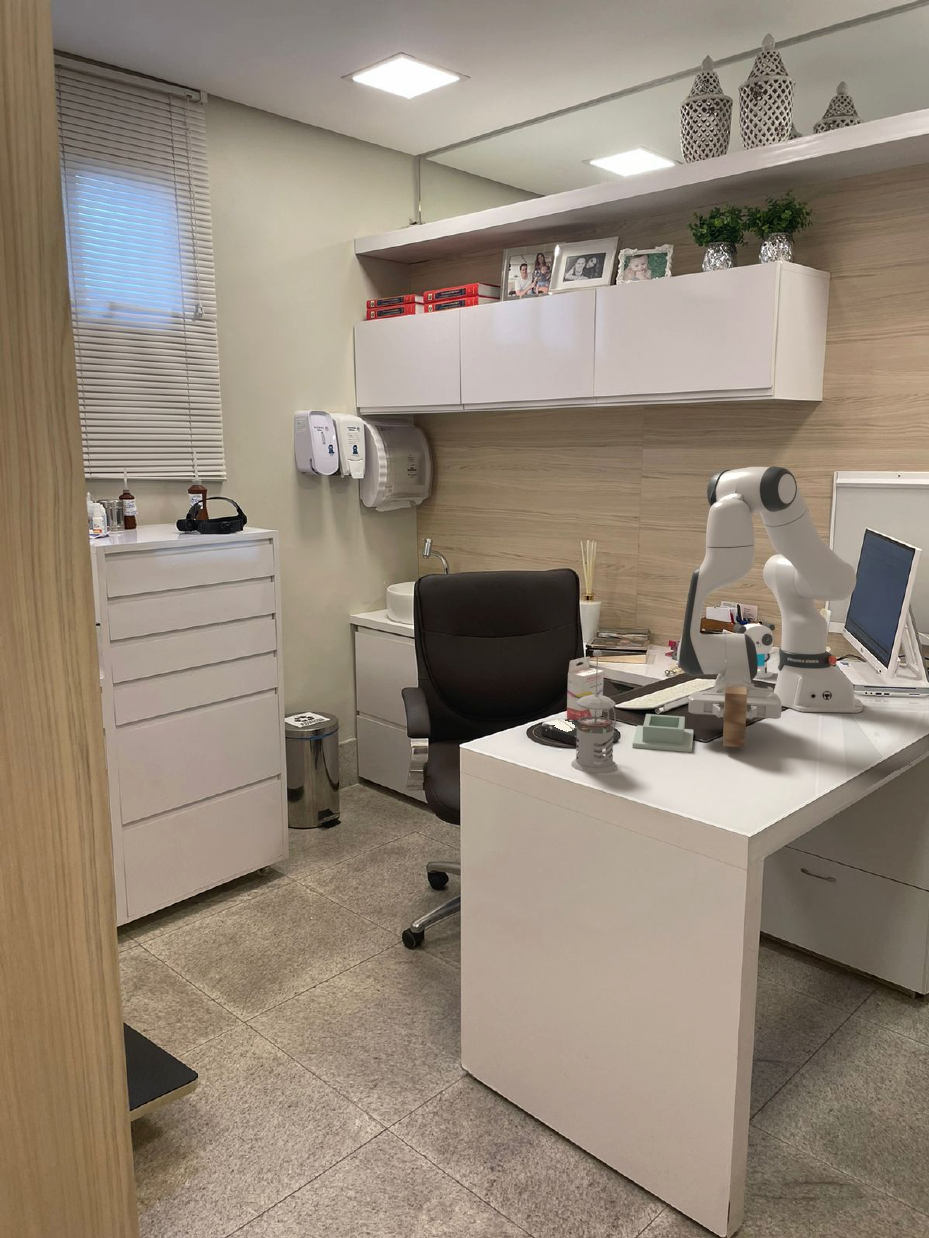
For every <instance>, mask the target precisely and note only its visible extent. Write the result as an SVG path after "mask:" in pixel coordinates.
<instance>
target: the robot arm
mask: <svg viewBox="0 0 929 1238" xmlns="http://www.w3.org/2000/svg"><path fill="white" fill-rule="evenodd" d="M706 498H707V501H708V504H709V506H710V508H709V511H708V517H707V521H706V531H705V532H706V533H705V534H706V535H705V554H704V555H705V556H704V558H703V561H702V563H701V565H700V566H699V567H697V568H694V571H693V572H692V574H691V577H690V578H691V579H690V584H689V589H688V594H687V601H686V605H685V606H686V607H685V613H684V620H683V625H682V626H683V628H682V633H681V637H680V640H679V643H678V645H677V652H676V659H677V664H678V667H679V669H681V670H682V671H683V672H684V673H685V674H686V675H689V676H690V677H694V676H696V677H697V676H704V675H717V677H716V679H715V682H714V686H713V687H714V689H713V690H714V691H694V692H692V693H691V694H690V695H688V697H687V701H688V713H690V714H692V715H711V716H716V717H717V718H721V719H722V718H723V719H724V702H725V686H733V687H746V690H747V706H746V720H753V718H758V719H774V720H779V719H781V717H782V707H786V708H789V709H793V710H795V711H797V712H803V713H804V712H806V713H808V712H809V713H812V712H813V713H854V714H855V713H860V712H862V711H863V710H864V705H863V703H862V701H861V700H860V699H858V698H857V697H855V689H854V685H853V684H852V682H851V681H850V679H849V678H848V677H847V676H845V675H844V674H843V673H841V671H839V670H838V669H837V668H836V667H834V666H833V665H836V664H837V663H838V659H837V657H836V656H835V655H834V654H832V653H831V652H830V651H827V639H828V638H827V637H828V636H827V635H828V622H827V620H826V618H825V616H823V615H822V614H821V613H820V612H819V611H818V608H817V607H816V604H815V601H814V600H817V601H821V602H836V601H837V602H839V601H845V600H846V599H848V598H849V597H850V596H851V595H852V594H853V592H854V591H855V588H856V584H857V573H856V571H855V569H854V567H853V566H852V565H851V564H850V563H848V562H846V561H845V560H843V559H842V558H841V557H839V555H837V554H836V553H835V552H834V551H833V549H831V548H830V546H829V545H828V544H827V543H826V542H825V540H824V539H823V538H822V536H821V535H820V533H819V532H818V530H817V529H816V526H815V524H814V521H813V518H812V516H811V514H810V511H809V508H808V506H807V503H806V500H805V498H804V496H803V494H802V492H801V490H800V488H799V486H798V485H797V480H796V478H795V476H794V474H793V473H792V472H791V471H790V470H789V469H788V468H785V467H782V466H781V467H780V466H777V465H776V466H748V467H743V468H742V467H741V468H737V469H725V470H721V471H720V472H717V473H714V474H713V476H711V479H710V480H709V482H708V485H707V487H706ZM754 514H759V515H760V518H761V520H762V523H763V527H764V529H765V531H766V533H767V536H768V539H769V541H770V545H771V546H772V548H773V549H774V550H775V551H776V552H777V553H778V554H774V555H772V556H771V557H768V559H767V561H766V562H765V564H764V567H763V570H762V577H763V580H764V581H763V582H764V583H765V585H766V586H767V588H769V590H770V591H771V592H772V595H774V597H775V600H776V601H777V602H776V603H777V605H778V608H779V611H780V617H781V640H780V641H781V642H780V648H779V649H778V654H777V669H778V672H777V678H776V682H775V685H774V688H773V687H771V686H767V685H763V684H758V683H757V684H756V683H753V682H752V681H754V679H756V678H755V676H756V675H757V670H758V659H757V652H756V647H755V643H754V642H753V640H752V639H751V638H750V637H749V636H748V635H746V634H736V633H722V634H720V633H718V634H717V633H715V634H708V633H707V634H704V633H701V631H700V629H701V623H702V615H703V610H704V604H705V600H706V599H707V598H708V597H709V596H710V595H711V594H712V593H714V592H716V591H718V590H721V589H723V588H725V587H728V586H730V585H733V584H736V583H738V582H739V581H740V580H743V578H745V577H746V576H747V575H748V574H749V573H750V572H751V570H752V568H753V567H754V559H755V535H754V524H753V517H754Z"/></svg>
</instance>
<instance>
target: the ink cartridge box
mask: <svg viewBox="0 0 929 1238" xmlns="http://www.w3.org/2000/svg"><path fill="white" fill-rule="evenodd" d="M579 663H582V664H580V665H579ZM590 663H591V656H584V657H581V658H576V659H572V660H569V664H568V665H569V666H568V673H567V694H566V695H567V696H566V697H567V699H566V702H567V703H566V704H567V705H566V719H569V718H571V719H575V720H578V721H579V719H580V718H582V717H588V716H589V717H590V716H592V717H593V716H595V710H591V709H585V708H582V707H580V706H579V705H578V704H577V701H578V700H579V699H581V698H582V697H585V696H588V695H593V694H596V669H597V668H591V667H590ZM604 672H605V671H604V670H602V669H598V671H597V694H598V695H603V696H604V675H605V673H604ZM602 715H603V711H602V710H596V716H597V717H599V716H600V717H603V716H602Z"/></svg>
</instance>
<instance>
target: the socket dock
mask: <svg viewBox="0 0 929 1238" xmlns="http://www.w3.org/2000/svg"><path fill="white" fill-rule="evenodd" d="M685 722H686V717H685V716H681V715H680V716H679V715H665V714H652V713H646V714H645V717H644V722H643V725H636V726H637V727H636V729H635V732H634V733H635V734H634V737H633V740H632V746H631V747H632V748H636V749H646V750H647V749H648V750H659V751H673V752H682V753H683V752H684V753H693V741H694V740H693V739H694V729H692V728H691V729H690V728H685V725H686V723H685Z"/></svg>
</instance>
